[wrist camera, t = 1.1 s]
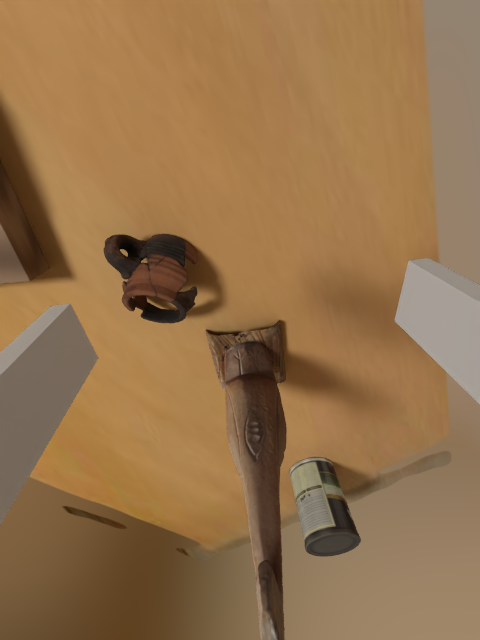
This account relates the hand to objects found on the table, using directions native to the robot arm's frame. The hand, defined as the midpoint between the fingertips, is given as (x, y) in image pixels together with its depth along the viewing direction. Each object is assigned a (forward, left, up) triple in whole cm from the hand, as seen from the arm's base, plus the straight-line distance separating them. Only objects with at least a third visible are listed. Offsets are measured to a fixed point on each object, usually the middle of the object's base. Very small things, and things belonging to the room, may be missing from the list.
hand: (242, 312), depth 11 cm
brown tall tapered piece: (+21, +1, -24) cm, 32 cm away
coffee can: (+57, +14, -24) cm, 64 cm away
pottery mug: (+6, -9, -24) cm, 26 cm away
